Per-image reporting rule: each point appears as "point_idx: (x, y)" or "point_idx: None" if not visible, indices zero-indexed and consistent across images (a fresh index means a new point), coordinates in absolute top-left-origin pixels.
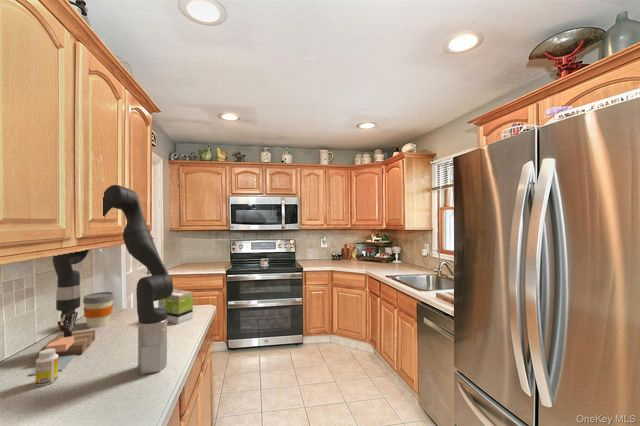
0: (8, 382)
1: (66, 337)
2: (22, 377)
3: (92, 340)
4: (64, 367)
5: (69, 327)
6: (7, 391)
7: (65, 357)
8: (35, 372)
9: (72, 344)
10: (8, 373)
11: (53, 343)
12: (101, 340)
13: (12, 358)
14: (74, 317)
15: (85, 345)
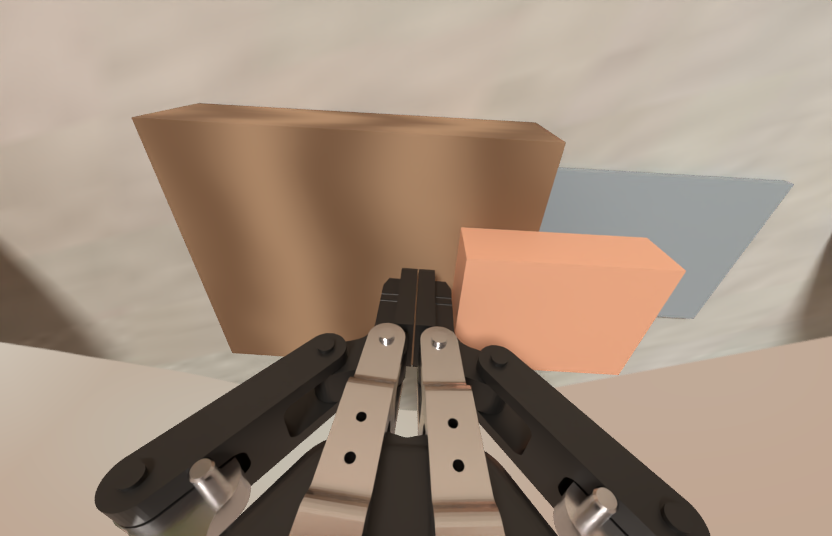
0: (694, 356)
1: (469, 307)
2: (681, 329)
3: (262, 109)
4: (737, 178)
5: (459, 369)
6: (812, 335)
7: (554, 218)
8: (692, 300)
9: (508, 226)
10: (577, 378)
11: (575, 351)
12: (230, 25)
13: (401, 403)
14: (345, 464)
15: (454, 126)
